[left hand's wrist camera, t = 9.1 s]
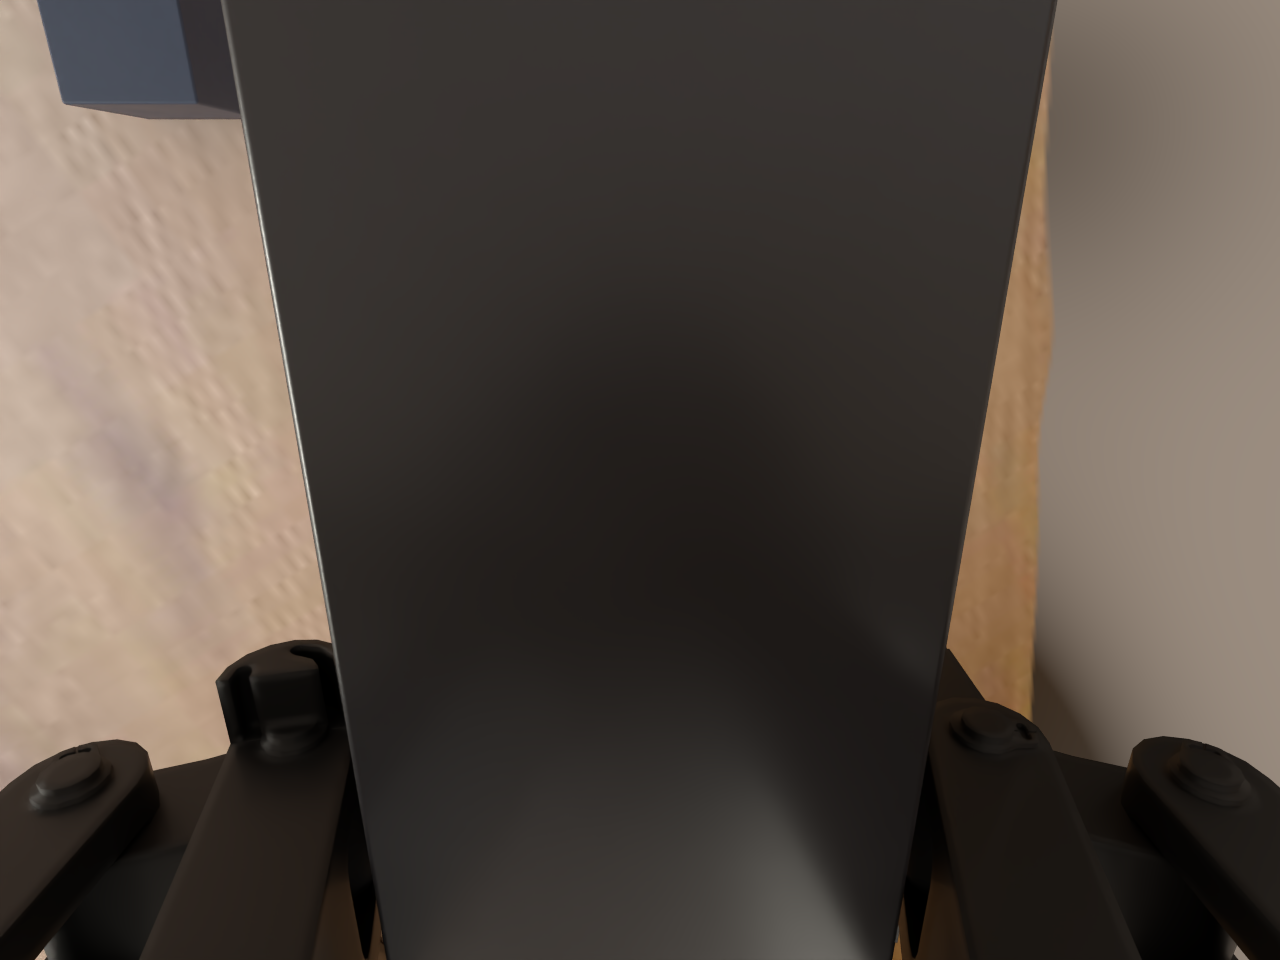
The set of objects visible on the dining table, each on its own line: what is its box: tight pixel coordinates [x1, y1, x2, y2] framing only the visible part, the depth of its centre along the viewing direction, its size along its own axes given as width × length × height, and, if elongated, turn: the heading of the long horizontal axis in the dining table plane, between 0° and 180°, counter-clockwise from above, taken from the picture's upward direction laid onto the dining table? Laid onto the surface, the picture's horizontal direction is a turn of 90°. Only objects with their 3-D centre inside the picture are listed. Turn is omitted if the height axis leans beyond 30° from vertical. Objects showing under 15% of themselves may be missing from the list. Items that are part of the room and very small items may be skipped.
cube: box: [37, 0, 241, 119], centre depth 22 cm, size 4×4×4 cm
